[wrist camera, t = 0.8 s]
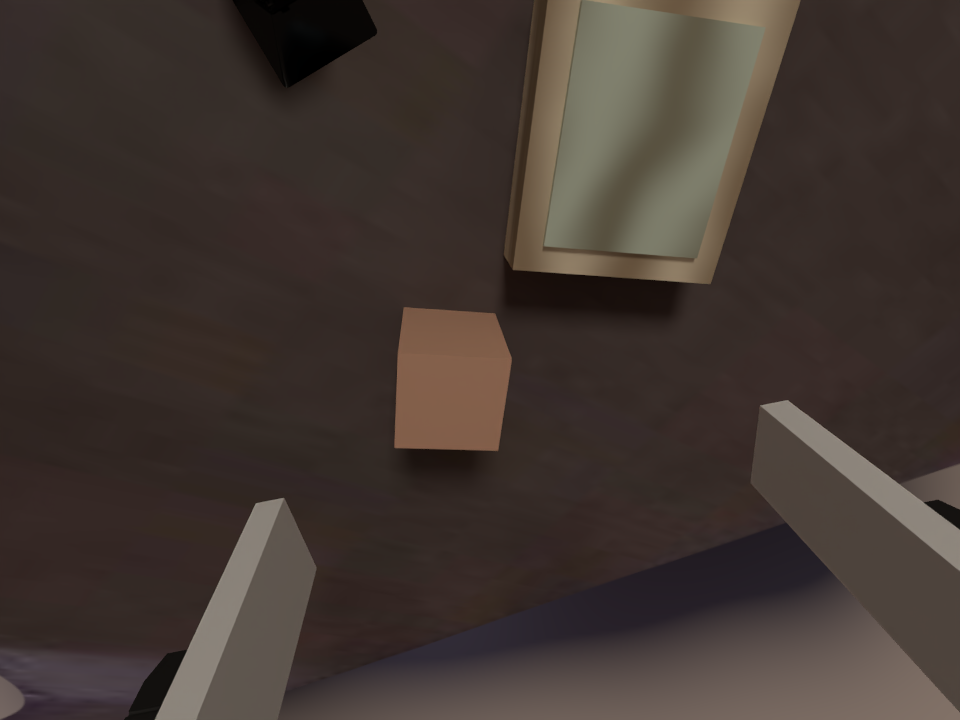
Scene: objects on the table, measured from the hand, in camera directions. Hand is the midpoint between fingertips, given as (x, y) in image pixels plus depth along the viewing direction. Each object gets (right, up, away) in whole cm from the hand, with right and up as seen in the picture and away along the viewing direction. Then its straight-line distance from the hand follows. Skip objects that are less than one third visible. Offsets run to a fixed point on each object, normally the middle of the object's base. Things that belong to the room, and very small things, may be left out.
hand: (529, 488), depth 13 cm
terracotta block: (-4, +4, +19) cm, 20 cm away
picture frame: (+7, +16, +15) cm, 23 cm away
